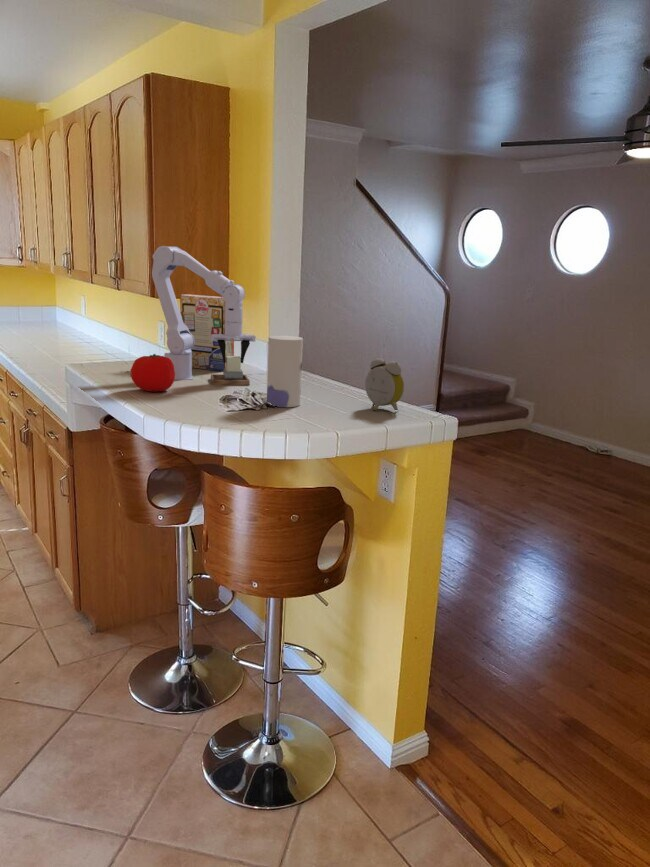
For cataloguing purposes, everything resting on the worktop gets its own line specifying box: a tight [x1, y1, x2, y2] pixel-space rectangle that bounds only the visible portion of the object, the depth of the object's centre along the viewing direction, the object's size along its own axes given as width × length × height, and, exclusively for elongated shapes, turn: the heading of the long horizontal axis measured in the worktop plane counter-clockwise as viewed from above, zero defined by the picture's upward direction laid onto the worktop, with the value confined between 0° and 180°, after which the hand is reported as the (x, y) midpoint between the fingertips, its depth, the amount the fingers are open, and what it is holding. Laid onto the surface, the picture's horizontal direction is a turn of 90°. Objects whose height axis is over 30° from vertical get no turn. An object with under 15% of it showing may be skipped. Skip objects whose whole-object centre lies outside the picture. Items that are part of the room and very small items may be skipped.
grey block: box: [222, 368, 244, 380], centre depth 226 cm, size 6×6×4 cm
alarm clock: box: [364, 357, 405, 411], centre depth 196 cm, size 12×7×15 cm, turn 43°
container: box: [266, 334, 304, 408], centre depth 197 cm, size 10×10×20 cm
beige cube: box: [226, 355, 242, 371], centre depth 225 cm, size 4×4×4 cm
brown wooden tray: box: [210, 373, 251, 387], centre depth 226 cm, size 12×11×2 cm
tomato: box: [130, 353, 176, 392], centre depth 207 cm, size 12×13×12 cm
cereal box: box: [179, 294, 235, 372], centre depth 249 cm, size 20×6×27 cm, turn 65°
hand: (233, 362), depth 225 cm, fingers open, 5 cm apart
